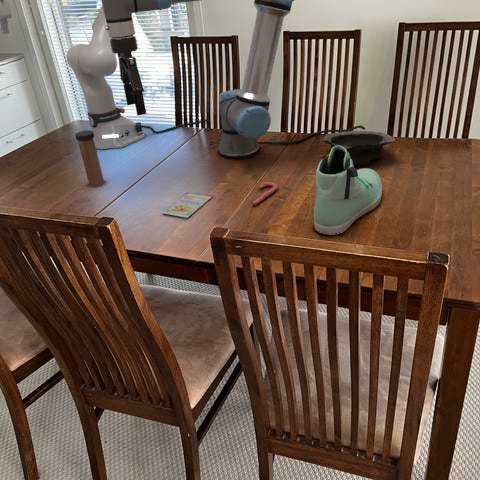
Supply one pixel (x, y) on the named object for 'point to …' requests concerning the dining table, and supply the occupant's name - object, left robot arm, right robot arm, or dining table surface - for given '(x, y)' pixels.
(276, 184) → the candy cane
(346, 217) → the sneaker
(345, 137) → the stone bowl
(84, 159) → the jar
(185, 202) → the baking ingredient package
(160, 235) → the dining table surface
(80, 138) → the lid
